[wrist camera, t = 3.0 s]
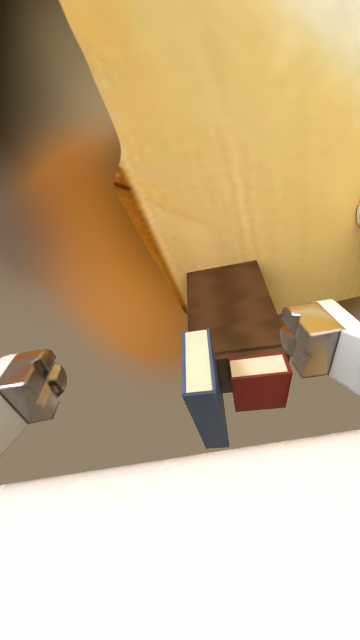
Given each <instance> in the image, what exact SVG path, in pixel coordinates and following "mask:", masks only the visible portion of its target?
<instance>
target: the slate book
mask: <svg viewBox="0 0 360 640" xmlns="http://www.w3.org/2000/svg"><path fill="white" fill-rule="evenodd" d="M182 396H183V399H184V401H185V403H186V405H187V408H188V410H189V412H190V414H191V416H192V418H193V421H194V423H195V425H196V427H197V429H198V431H199V434H200V436H201V438H202V440H203V442H204V444H205V447H206V448H221V447H229V441H228V433H227V425H226V417H225V409H224V401H223V393H222V388H221V383H220V379H219V374H218V369H217V364H216V359H215V354H214V349H213V344H212V339H211V334H210V329H209V328H208V329H207V330H200V331H193V332H187V333H185V332H182Z"/></svg>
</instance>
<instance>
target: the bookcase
mask: <svg viewBox="0 0 360 640" xmlns="http://www.w3.org/2000/svg"><path fill="white" fill-rule="evenodd" d="M187 299H188V332H193V331H200V330H207V329H208V328H209V329H210V334H211V339H212V344H213V349H214V354H215V359H216V364H217V369H218V374H219V379H220V383H221V388H222V393H229V392H232V385H231V377H230V370H229V363H228V358H234V357H242V356H250V355H258V354H267V353H275V352H283V351H284V349H283V346H282V344H281V339H280V328H281V327H282V326H281V323H280V321H279V318H278V315H277V313H276V310H275V307H274V305H273V302H272V300H271V297H270V295H269V292H268V289H267V287H266V284H265V282H264V279H263V277H262V274H261V271H260V269H259V266H258V264H257V261H250V262H245V263H239V264H234V265H228V266H223V267H217V268H212V269H206V270H201V271H195V272H190V273H187ZM285 354H286V352H285ZM286 356H287V359H288V362H289V359H290V356H289V355H288V354H286Z"/></svg>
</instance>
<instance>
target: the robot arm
mask: <svg viewBox="0 0 360 640" xmlns="http://www.w3.org/2000/svg"><path fill="white" fill-rule="evenodd" d="M357 223H358V226H359V227H360V204H359V206H358V210H357ZM281 318H282V319H283V321H284V322H285V323H284V324H283V326H282V327H281V328H280V339H281V344H282V346H283V349H284V351H285V352H286V354H288V355H289V356H291V357H293V363H292V364H293V365H294V367H295V368H296V370H297V372H298V373H299V375H300V376H301V378H308V377H316V376H323V375H329V376H330V377H331V378H333V379H334V380H336V381H337V382H339V383H341V384H342V385H344V386H345V387H347V388H349V389H350V390H352V391H353V392H355V393H356V394H358V395H360V322H359V321H358V320H357V319H355V318H354V317H353V316H352V315H351V314H350V313H348V312H347V311H346V310H345V309H344V308H343V307H341V306H340V305H339V304H338V303H337V302H336V301H334V300H333V299H325V300H320V301H315V302H312V303H307V304H301V305H296V306H290V307H285V308H283V311H282V316H281ZM55 359H56V356H55V355H54V353H53V352H52V350H49V349H44V350H37V351H30V352H24V353H19V354H12V355H6V356H4V357H2V358H1V359H0V457H1V456H2V454H3V453H4V452H5V451H6V450H7V449H8V448H9V446H10V445H11V444H12V443H13V442H14V441H15V440H16V439H17V437H18V436H19V435H20V434H21V433H22V432H23V431H24V430H25V428H27V426H28V424H31V423H36V422H41V421H46V420H51V419H53V418H54V415H55V413H56V410H57V408H58V405H59V403H60V402H59V400H58V397H59V396H60V394H62V393H63V392H64V390H65V387H66V380H67V376H66V373H65V370H64V369H63V367H62V366H61V365H59V364H58V363H56V362H55ZM0 640H360V430H353V431H347V432H340V433H334V434H327V435H321V436H315V437H308V438H302V439H295V440H289V441H283V442H276V443H269V444H263V445H257V446H250V447H244V448H237V449H230V450H225V451H218V452H211V453H205V454H199V455H192V456H185V457H179V458H172V459H166V460H160V461H153V462H147V463H140V464H134V465H128V466H121V467H115V468H108V469H102V470H95V471H89V472H82V473H76V474H69V475H63V476H57V477H50V478H44V479H37V480H31V481H25V482H18V483H11V484H5V485H0Z"/></svg>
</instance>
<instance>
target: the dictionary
mask: <svg viewBox="0 0 360 640" xmlns="http://www.w3.org/2000/svg"><path fill="white" fill-rule="evenodd" d="M228 363H229V370H230V377H231V385H232V392H233V396H234V404H235V410H236V412H239V411H251V410H261V409H273V408H285V407H286V403H287V398H288V393H289V388H290V383H291V378H292V370H291V367H290V365H289V362H288V359H287V356H286V354H285V351H283V352H275V353H267V354H258V355H250V356H242V357H234V358H228Z"/></svg>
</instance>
